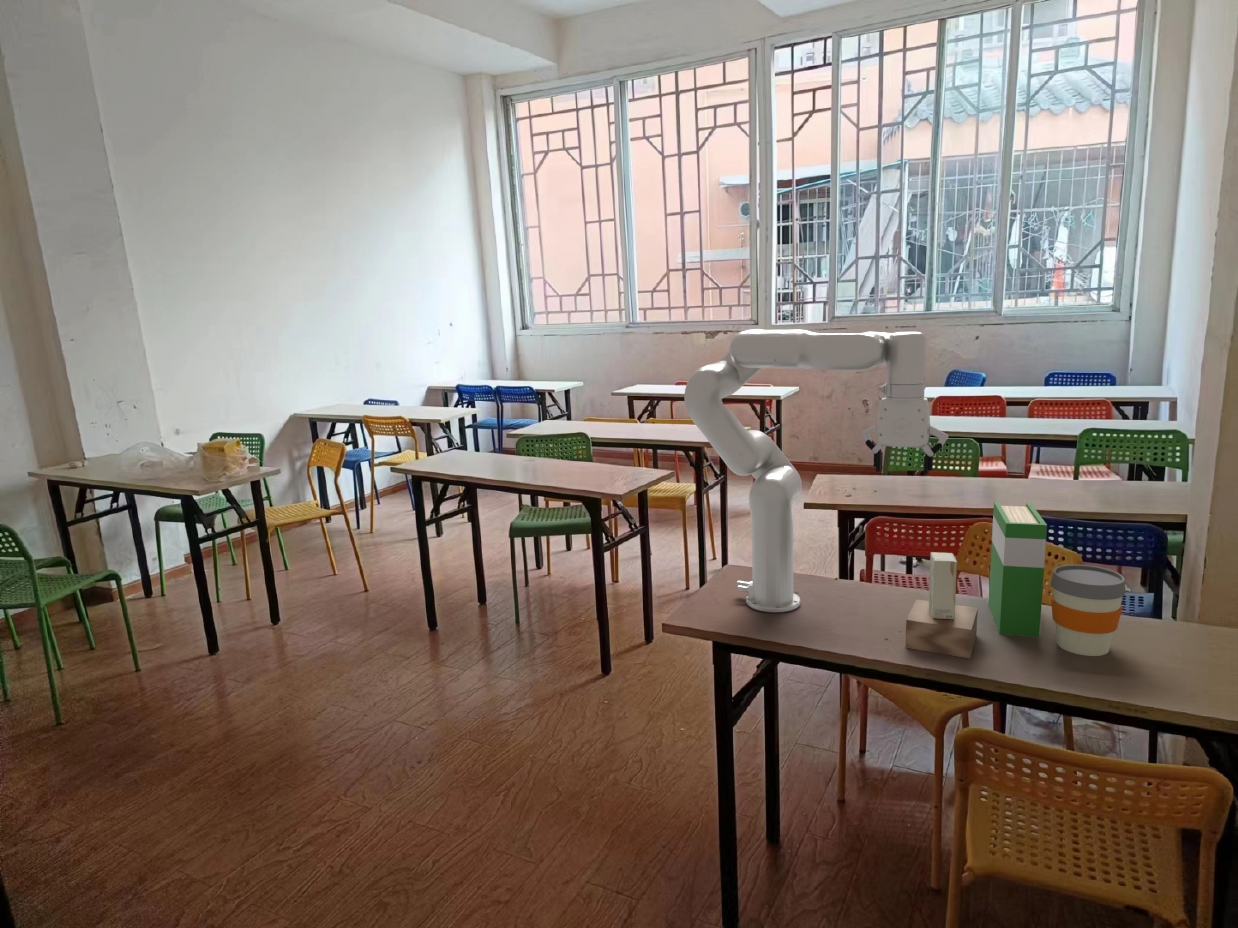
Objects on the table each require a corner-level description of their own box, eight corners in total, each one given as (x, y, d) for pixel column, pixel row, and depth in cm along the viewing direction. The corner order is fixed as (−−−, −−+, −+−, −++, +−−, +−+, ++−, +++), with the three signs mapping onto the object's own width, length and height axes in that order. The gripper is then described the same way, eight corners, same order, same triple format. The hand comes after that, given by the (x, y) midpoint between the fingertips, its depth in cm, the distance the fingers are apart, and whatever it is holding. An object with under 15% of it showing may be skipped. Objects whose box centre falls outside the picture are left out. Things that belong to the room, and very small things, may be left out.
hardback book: (988, 602, 176) (993, 501, 172) (1024, 605, 174) (1030, 503, 169) (999, 633, 160) (1005, 523, 155) (1039, 637, 158) (1047, 525, 153)
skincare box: (955, 620, 153) (958, 562, 151) (931, 619, 154) (934, 561, 152) (950, 608, 159) (953, 551, 157) (928, 606, 160) (930, 551, 158)
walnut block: (905, 647, 156) (906, 619, 154) (915, 625, 166) (916, 599, 165) (969, 658, 150) (971, 629, 148) (976, 635, 160) (977, 608, 159)
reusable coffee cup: (1035, 646, 154) (1040, 575, 151) (1061, 627, 161) (1066, 559, 159) (1106, 666, 144) (1112, 591, 141) (1129, 645, 152) (1136, 574, 149)
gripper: (858, 393, 161) (856, 473, 164) (947, 394, 152) (943, 478, 155) (866, 389, 167) (864, 466, 170) (952, 390, 158) (948, 471, 162)
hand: (902, 472), depth 163 cm, fingers open, 9 cm apart
